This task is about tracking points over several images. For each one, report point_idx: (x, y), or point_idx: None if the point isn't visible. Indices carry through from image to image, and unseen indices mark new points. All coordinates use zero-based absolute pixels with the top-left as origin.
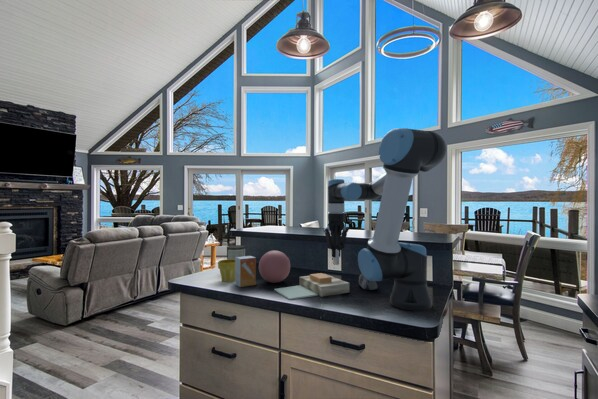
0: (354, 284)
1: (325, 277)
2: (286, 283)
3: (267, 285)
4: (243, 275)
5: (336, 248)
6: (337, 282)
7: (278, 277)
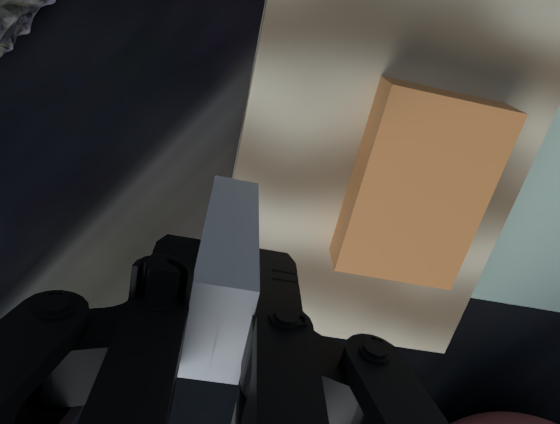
0: (52, 82)
1: (451, 111)
2: (443, 388)
3: (555, 411)
4: None
5: (176, 375)
6: (365, 9)
7: (544, 420)
